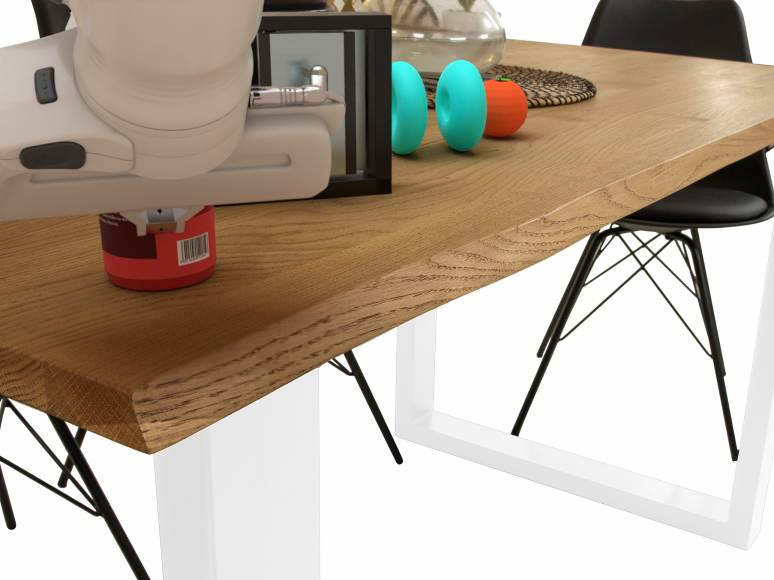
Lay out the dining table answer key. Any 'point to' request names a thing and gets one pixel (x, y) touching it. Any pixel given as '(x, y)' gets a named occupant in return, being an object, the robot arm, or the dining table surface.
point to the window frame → (370, 94)
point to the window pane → (316, 78)
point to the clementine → (504, 107)
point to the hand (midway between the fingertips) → (159, 225)
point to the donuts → (438, 106)
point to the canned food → (158, 253)
